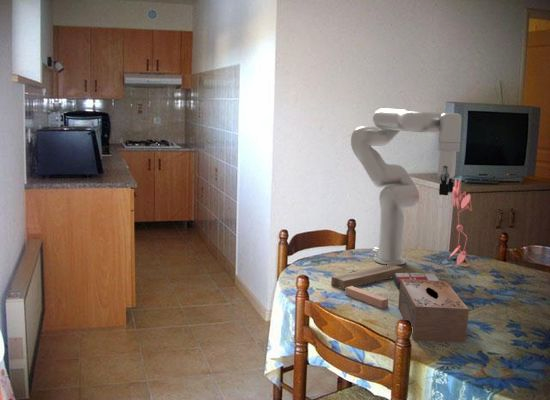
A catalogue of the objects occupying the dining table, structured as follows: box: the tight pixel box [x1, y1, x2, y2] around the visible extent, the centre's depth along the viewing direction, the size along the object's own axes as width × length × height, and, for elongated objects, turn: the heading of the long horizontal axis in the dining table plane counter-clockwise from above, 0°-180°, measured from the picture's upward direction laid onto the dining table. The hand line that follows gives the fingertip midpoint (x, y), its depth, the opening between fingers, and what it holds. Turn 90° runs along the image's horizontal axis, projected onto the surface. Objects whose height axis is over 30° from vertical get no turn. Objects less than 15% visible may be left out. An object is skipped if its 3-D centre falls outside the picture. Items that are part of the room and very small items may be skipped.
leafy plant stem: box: [433, 178, 473, 268], centre depth 249 cm, size 15×26×35 cm, turn 175°
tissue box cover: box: [397, 279, 470, 344], centre depth 179 cm, size 26×14×10 cm, turn 178°
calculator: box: [393, 272, 441, 291], centre depth 216 cm, size 11×4×15 cm
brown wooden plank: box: [330, 264, 404, 290], centre depth 222 cm, size 6×32×3 cm, turn 129°
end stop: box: [344, 286, 389, 309], centre depth 199 cm, size 16×3×2 cm, turn 39°
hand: (446, 193), depth 223 cm, fingers open, 9 cm apart
